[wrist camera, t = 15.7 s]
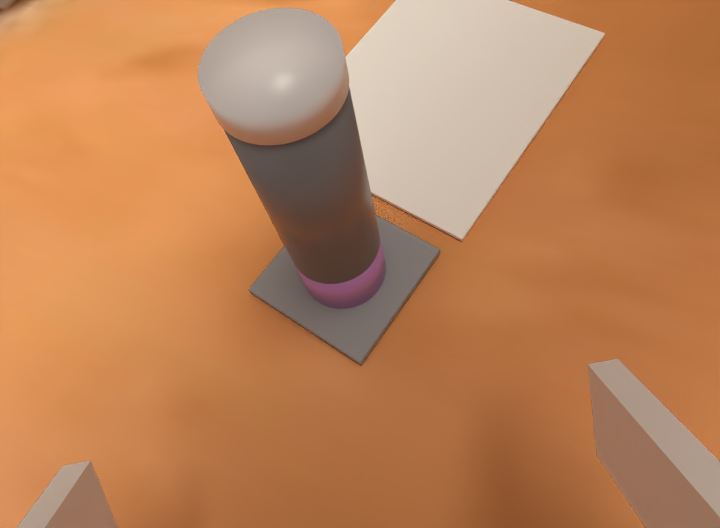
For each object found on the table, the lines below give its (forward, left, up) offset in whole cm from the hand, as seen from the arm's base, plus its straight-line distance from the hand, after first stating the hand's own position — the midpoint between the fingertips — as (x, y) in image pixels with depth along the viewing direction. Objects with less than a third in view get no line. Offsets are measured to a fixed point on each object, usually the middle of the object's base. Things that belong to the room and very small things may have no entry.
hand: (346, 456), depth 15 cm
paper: (-17, -8, -7) cm, 20 cm away
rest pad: (-6, -6, -7) cm, 11 cm away
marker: (-6, -6, -7) cm, 11 cm away
